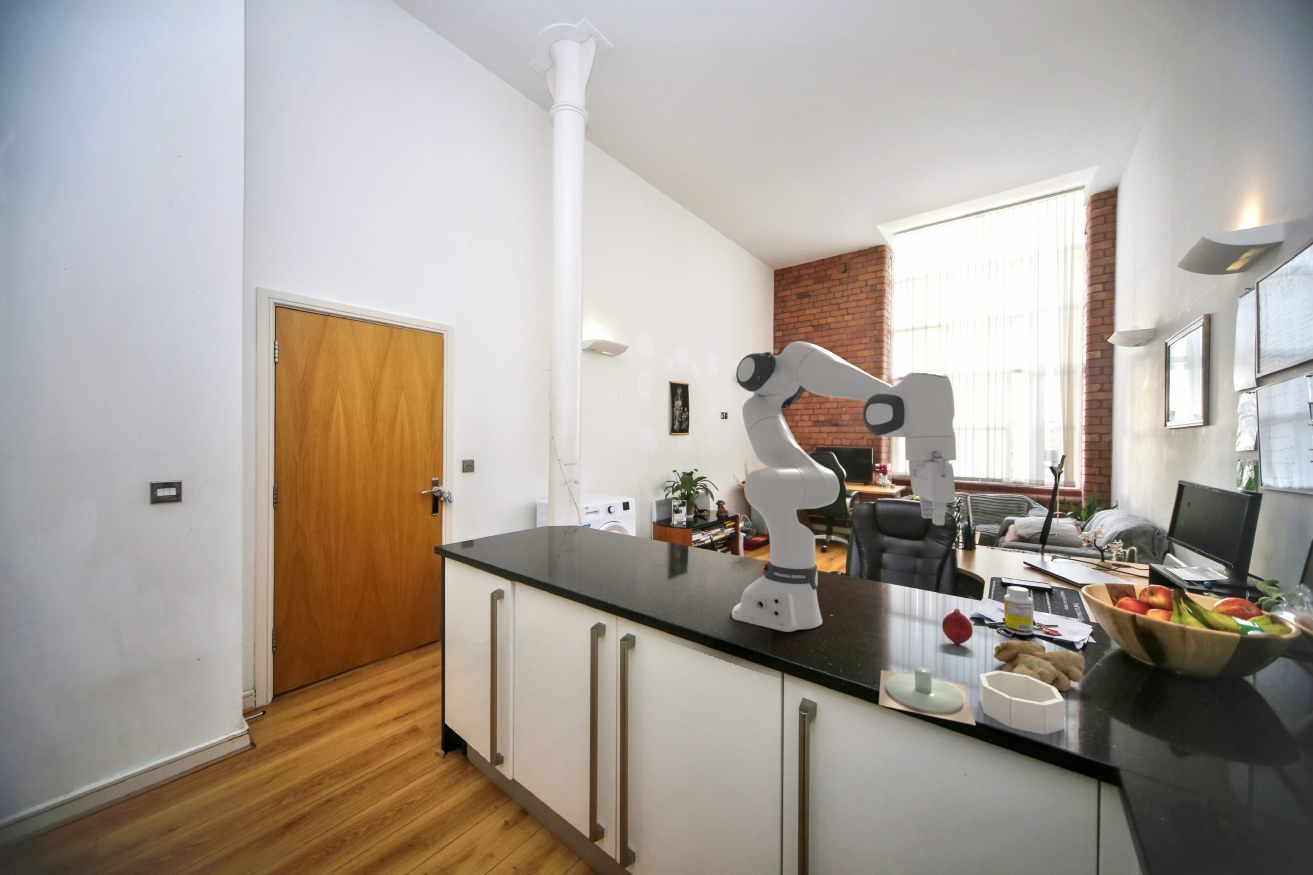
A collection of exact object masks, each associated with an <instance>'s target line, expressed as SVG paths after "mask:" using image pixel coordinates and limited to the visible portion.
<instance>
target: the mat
mask: <svg viewBox="0 0 1313 875" xmlns="http://www.w3.org/2000/svg"><path fill="white" fill-rule="evenodd" d="M899 674H901V673H900V672H899V673H898V672H893V671H890V670H889V671H888V670H883V669H881V670H880V677H879V678H880V681H879V683H880V684H879V695H878V696H879V698H878V706H881V707H887V708H892V709H894V710H901V711H905V712H911V713H914V714H919V715H923V716H924V715H925V716H929V717H935V718H938V719H943V720H948V721H953V722H957V723H963V724H967V725H972V726H976V725H977V724H976V721H975V717H974V714H973V711H972V706H971V703H970V700H969V696H968V692H967V690H966V686H965V684H959V683H954V682H949V681H943V680H942V681H943V682H945V683H947V684H949V685H951V686H952V687H954V688H955V689H957V690H958V691H959V692H960V693H961V695H962V697H963V707H962V708H961V709H960V710H958V711H956V712H952V713H931V712H926V711H921V710H918V709H914V708H911V707H909V706H906V705H904V704H902V703H900V702H898V701H897V700H895V699H894V698H893V697H891V696H890V695H889V693H888V692H887V690H886V681H887V679H888V678H890V677H892V676H894V675H899Z"/></svg>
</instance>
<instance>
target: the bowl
mask: <svg viewBox="0 0 1313 875" xmlns="http://www.w3.org/2000/svg"><path fill="white" fill-rule="evenodd" d="M979 702H980V706H981V709H982V712H983V713H984V714H985V715H986V716H989V717H990V718H992V719H994V720H996V721H998V722H999V723H1001V724H1003V725H1005V726H1007V727H1008V728H1011V729H1017V730H1021V731H1025V732H1030V733H1034V734H1039V735H1049V734H1053V733H1055V732H1060V731H1063V730H1065V700H1064V699H1063V696H1062V695H1061V693H1060V692H1059V690H1057V689H1056V688H1055V687H1053V686H1051V685H1049V684H1046V683H1044V682H1042V681H1039V680H1037V679H1035V678H1033V677H1030V676H1027V675H1022V674H1016V673H1010V672H1004V671H1002V670H994V671H989V672H985V673H979Z"/></svg>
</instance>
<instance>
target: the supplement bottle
mask: <svg viewBox="0 0 1313 875" xmlns="http://www.w3.org/2000/svg"><path fill="white" fill-rule="evenodd" d="M1003 600H1004V601H1003V602H1004V605H1003V606H1004V608H1003V609H1004V628H1005V630H1006V631H1008V632H1010V633H1013V634H1015V633H1016V635H1021V636H1030V635H1033V633H1034V600H1033V599H1032V598H1031V597H1030V592H1029V589H1028V588H1026V587H1022V586H1015V585H1011V586H1008V588H1007V594H1005V595H1004V599H1003Z"/></svg>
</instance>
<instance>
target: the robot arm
mask: <svg viewBox="0 0 1313 875" xmlns="http://www.w3.org/2000/svg"><path fill="white" fill-rule="evenodd" d="M735 376H736V378H735V379H736V381H737V383H738V385H739V386H740V387H741V388H742V389H744V390H746V391H748V392H751V393H752V392H753V395H752V396H751V397H749V398H748V399H747V400H746V401H745V402H744V404H743V406H742V417H743V422H744V427H745V430H746V434H747V436H748V439H749V441H750V444H751V446H752V450H753V452H754V454H755V457H756V458H757V459H758V461H759V462H760V463H762V464H763V465H764V466H767V467H765V468H759V469H756V470H753V471H751V472H750V473H749V474H748V475H747V476H746V479H745V481H744V484H743V490H744V491H743V492H744V497H745V499H746V501H747V502H748V504H749V505H750V506H751V507H752V508H753V509H755V510H756V511H757V512H758V513H759V515H761V517H762V519H763V520H764V522H765V525H766V527H767V530H768V536H769V547H770V548H769V549H770V550H769V551H770V554H769V556H770V558H768V559H766V560H765V561H764V562H763V563H764V564H762V567H761V571H762V576H761V577H759V578H757V579H756V580H754V581H753V582H751V584H749V585H747V587H746V588H745V589H744V591H743V593H742V595H741V599H740V602H739V603H738V604H736V605H735V606H734V607H733V608H732V610H731V618H732V619H733V620H735V621H738V622H739V621H740V622H745V623H748V624H751V625H756V626H759V627H760V626H761V627H764V628H768V629H773V630H777V631H780V632H787V633H789V632H790V633H791V632H795V631H797V630H809V629H814V628H817V627H819V626H821V625H822V624H823V618H822V615H821V610H820V607H819V600H818V595H817V594H818V593H817V588H818V583H819V581H818V578H819V576H818V575H819V574H818V573H819V572H818V565H817V564H816V537H815V534H814V533H813V531H812V530H811V529H810V528H809V527H807V526H805V525H804V524H802V523H800V521H799V518H798V514H797V510H808V509H811V510H812V509H819V508H823V507H826V506H829V505H831V504H833V503H835V502H836V501H837V499H838V497H839V494H840V489H841V488H840V481H839V478H838V476H837V475H836V473H835V472H834V471H833V470H832V469H830V468H827V467H825V466H824V465H822V464H820V463H818V461H816V460H815V459H814V458H812V457H811V456H810V455H809V454H808V453H806V451H805V450H804V449H803V448H802V447H801V446H800V445H799V444H798V442H797V440H796V439H795V437H794V435H793V433H792V431H791V430H790V427H789V425H788V423H787V421H786V419H785V417H784V415H783V412H782V409H786V408H790V406H792V404H793V403H795V402H797V401H798V400H799V399H800V398H801V397H802V396H803V395H804V394H805V392H806V391H808V392H809V393H811V394H814V395H818V396H821V397H824V398H834V399H835V398H836V399H847V400H854V401H855V400H856V401H860V402H864V403H865V404H864V406H863V409H862V422H863V425H864V427H865V428H866V429H867V431H868V432H869V433H870V434H872V435H874V436H878V437H883V438H885V437H886V438H905V439H904V443H905V444H904V448H905V452H904V453H905V454H904V455H905V460H906V461H908V471H909V479H910V486H911V490H912V493H913V495H916V496H918V497H919V499H918V500H919V505H920V508H921V509H920V510H921V517H922V518H923V519H930V520H931V519H932V524H934V525H936V526H945V523H946V522H945V520H946V518H945V515H946V511H947V508H948V507H947V503H948V504H950V503H951V504H952V503H954V502H955V498H956V488H955V486H956V485H955V475H954V467H953V464H952V462H951V461H956V460H957V448H956V447H957V445H956V444H957V443H956V442H957V440H956V439H957V438H956V432H955V429H954V426H953V422H954V417H955V402H954V401H955V398H954V392H953V391H954V390H953V386H952V382H951V380H950V378H949V376H947V375H946V374H944V373H941V372H932V371H931V372H930V371H929V372H928V371H913V372H910V373H907V374H906V375H905V376H904V378H903V379H902V380H901V381H900V382H898V383H897V384H895V385H893V384H892V383H889V382H887V381H885V380H882V379H881V378H878V377H876V376H874V375H872V374H869V373H867V372H866V371H864V370H862V369H861V368H859V367H856V366H855V365H854V364H851V363H849V362H847V360H845V359H842V358H841V357H840V356H838V355H837V354H834V353H833V352H831V351H829V350H827V349H825V348H823V347H821V346H819V345H816V344H813V343H811V342H807V341H801V340H800V341H799V340H797V341H792V342H791V343H789V344H788V345H786V347H785V348H784V349H783V350H782V351H781V353H780V354H778V355H773V353H772V352H771V351H767V352H762V353H760V352H759V353H750V354H747V355H745V357H743V358H742V359H741V360H740V362H739V363H738V366H737V368H736V373H735Z"/></svg>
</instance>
